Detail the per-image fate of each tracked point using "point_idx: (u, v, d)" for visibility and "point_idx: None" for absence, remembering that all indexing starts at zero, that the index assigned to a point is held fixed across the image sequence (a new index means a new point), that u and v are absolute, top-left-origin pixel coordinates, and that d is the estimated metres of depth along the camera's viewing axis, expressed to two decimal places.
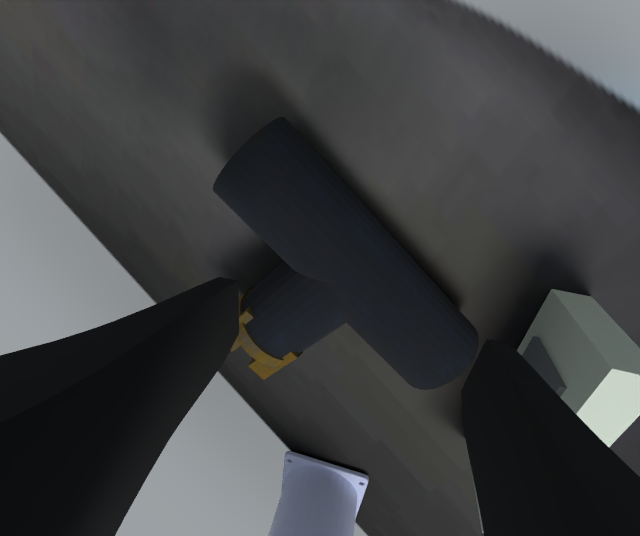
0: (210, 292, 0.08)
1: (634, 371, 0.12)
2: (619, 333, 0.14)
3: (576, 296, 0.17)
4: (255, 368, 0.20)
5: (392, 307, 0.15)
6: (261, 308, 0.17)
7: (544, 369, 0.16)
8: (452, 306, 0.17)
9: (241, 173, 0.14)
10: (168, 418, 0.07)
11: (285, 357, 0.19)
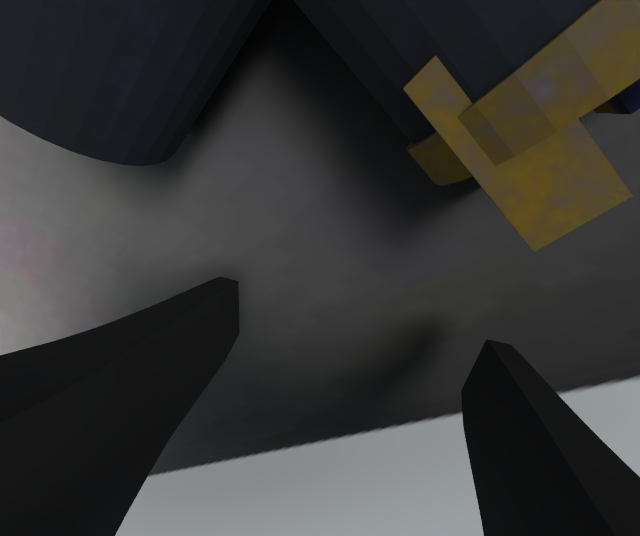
0: (210, 292, 0.08)
1: None
2: None
3: None
4: None
5: None
6: (391, 14, 0.04)
7: None
8: None
9: None
10: (168, 418, 0.07)
11: None
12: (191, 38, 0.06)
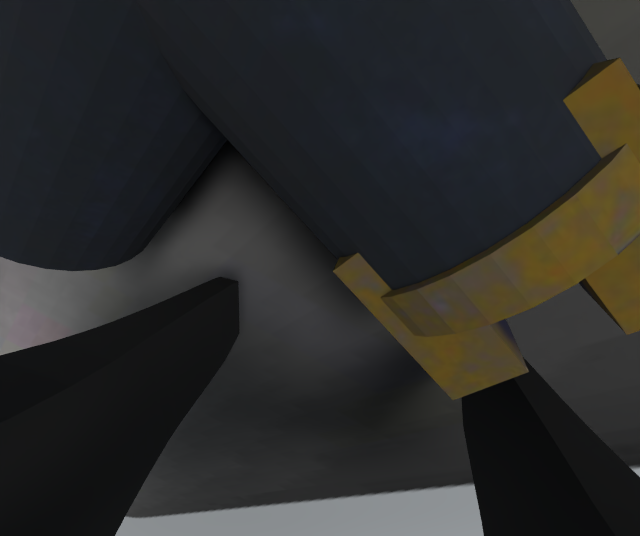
0: (210, 292, 0.08)
1: None
2: None
3: None
4: None
5: None
6: (320, 216, 0.05)
7: None
8: None
9: None
10: (168, 418, 0.07)
11: (600, 135, 0.03)
12: (156, 182, 0.06)
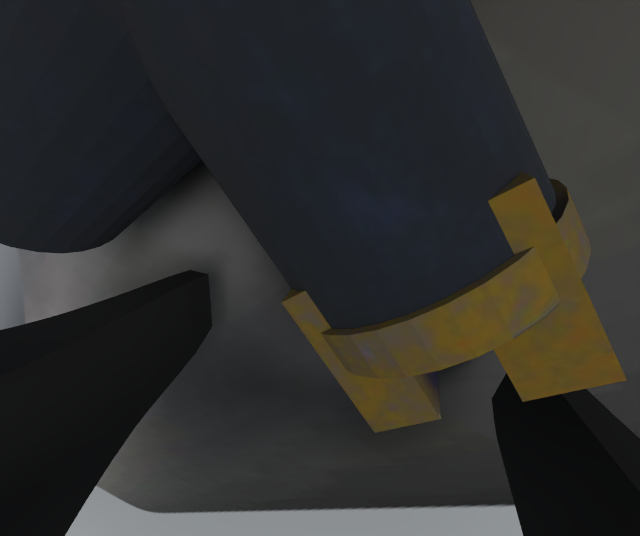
0: (177, 284, 0.08)
1: None
2: None
3: None
4: (545, 382, 0.05)
5: None
6: (276, 252, 0.05)
7: None
8: None
9: None
10: (132, 407, 0.08)
11: (514, 236, 0.04)
12: (133, 184, 0.07)
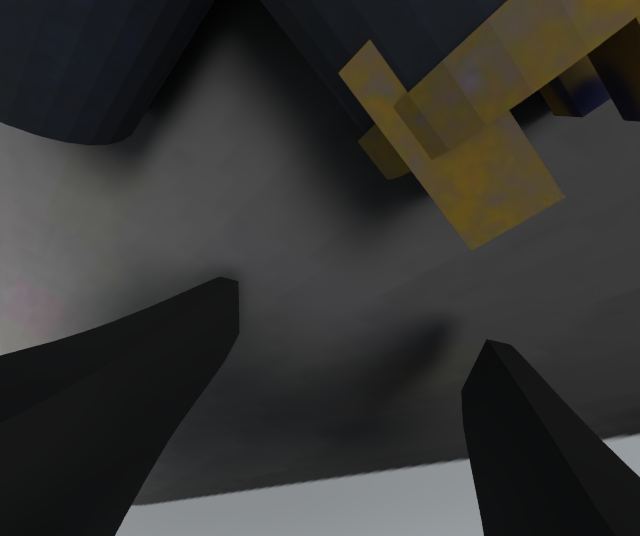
0: (210, 292, 0.08)
1: None
2: None
3: None
4: None
5: None
6: None
7: None
8: None
9: None
10: (168, 418, 0.07)
11: None
12: (133, 10, 0.06)
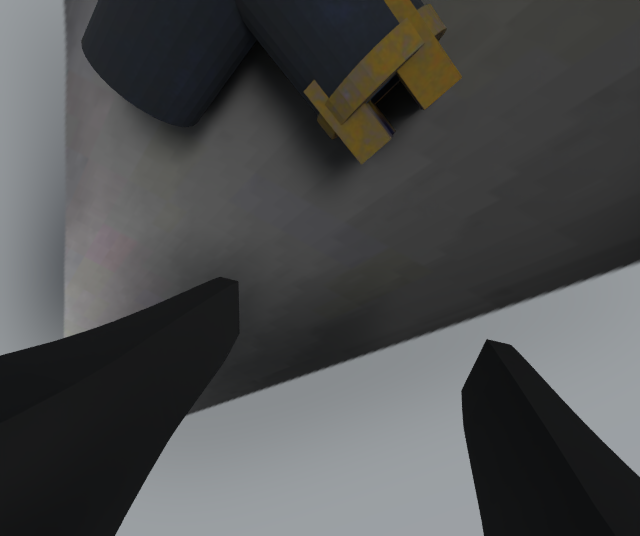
0: (210, 292, 0.08)
1: None
2: None
3: None
4: (430, 93, 0.10)
5: None
6: (297, 62, 0.11)
7: None
8: None
9: (104, 57, 0.12)
10: (168, 418, 0.07)
11: (397, 13, 0.09)
12: (214, 62, 0.12)
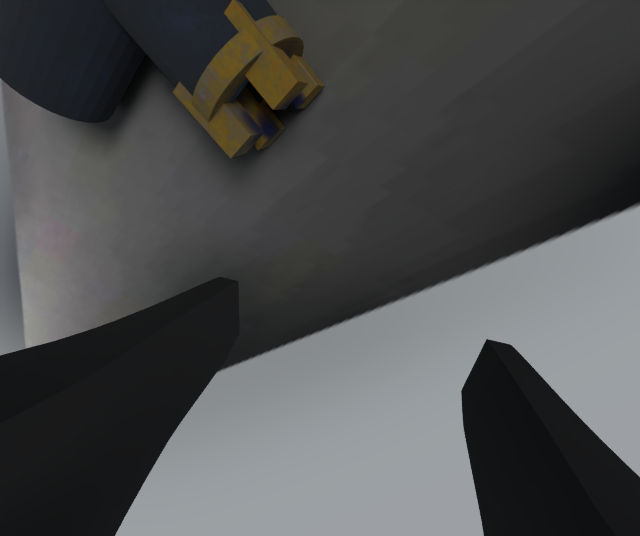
0: (210, 292, 0.08)
1: None
2: None
3: None
4: (275, 95, 0.11)
5: None
6: (164, 66, 0.12)
7: None
8: None
9: None
10: (168, 418, 0.07)
11: (236, 24, 0.11)
12: (104, 64, 0.14)
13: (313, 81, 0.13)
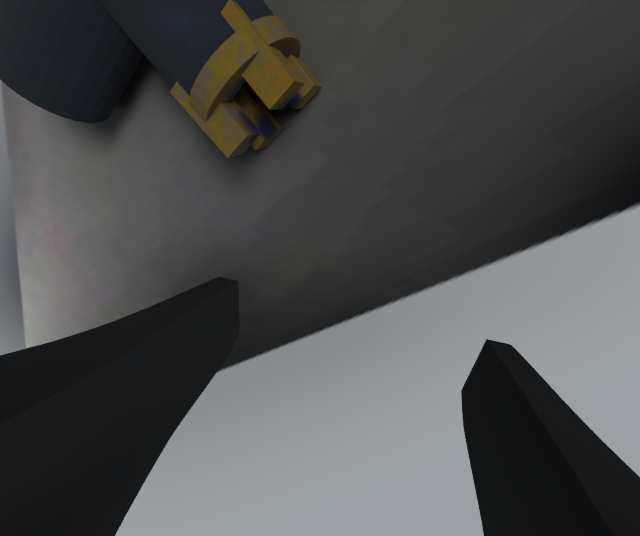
0: (210, 292, 0.08)
1: None
2: None
3: None
4: (271, 95, 0.11)
5: None
6: (162, 66, 0.12)
7: None
8: None
9: None
10: (168, 418, 0.07)
11: (232, 24, 0.11)
12: (102, 64, 0.14)
13: (310, 81, 0.13)
